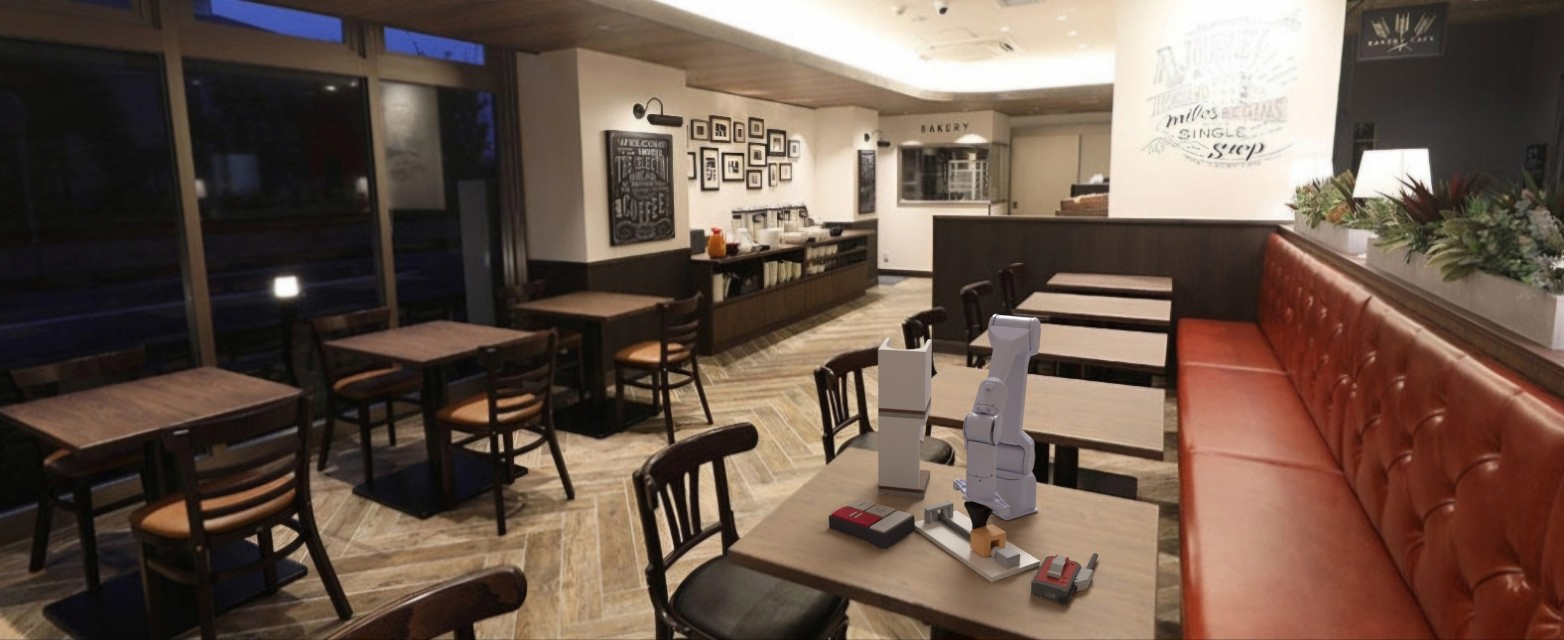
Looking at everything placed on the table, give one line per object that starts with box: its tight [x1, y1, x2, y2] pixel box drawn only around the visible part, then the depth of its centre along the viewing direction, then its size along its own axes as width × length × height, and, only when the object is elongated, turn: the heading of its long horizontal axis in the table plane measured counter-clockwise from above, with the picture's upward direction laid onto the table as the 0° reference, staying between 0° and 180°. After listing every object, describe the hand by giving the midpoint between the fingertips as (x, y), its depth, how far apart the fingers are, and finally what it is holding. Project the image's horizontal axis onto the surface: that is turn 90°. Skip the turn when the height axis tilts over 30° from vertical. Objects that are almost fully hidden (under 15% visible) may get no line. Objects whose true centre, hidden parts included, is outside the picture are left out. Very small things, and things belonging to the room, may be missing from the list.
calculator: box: [828, 498, 916, 550], centre depth 169 cm, size 11×4×15 cm
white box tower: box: [877, 337, 933, 499], centre depth 186 cm, size 11×11×35 cm
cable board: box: [915, 500, 1041, 583], centre depth 161 cm, size 12×25×4 cm, turn 27°
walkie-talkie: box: [1030, 552, 1099, 605], centre depth 148 cm, size 9×4×20 cm
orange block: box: [970, 523, 1007, 557], centre depth 156 cm, size 5×4×4 cm
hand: (979, 535), depth 159 cm, fingers closed
